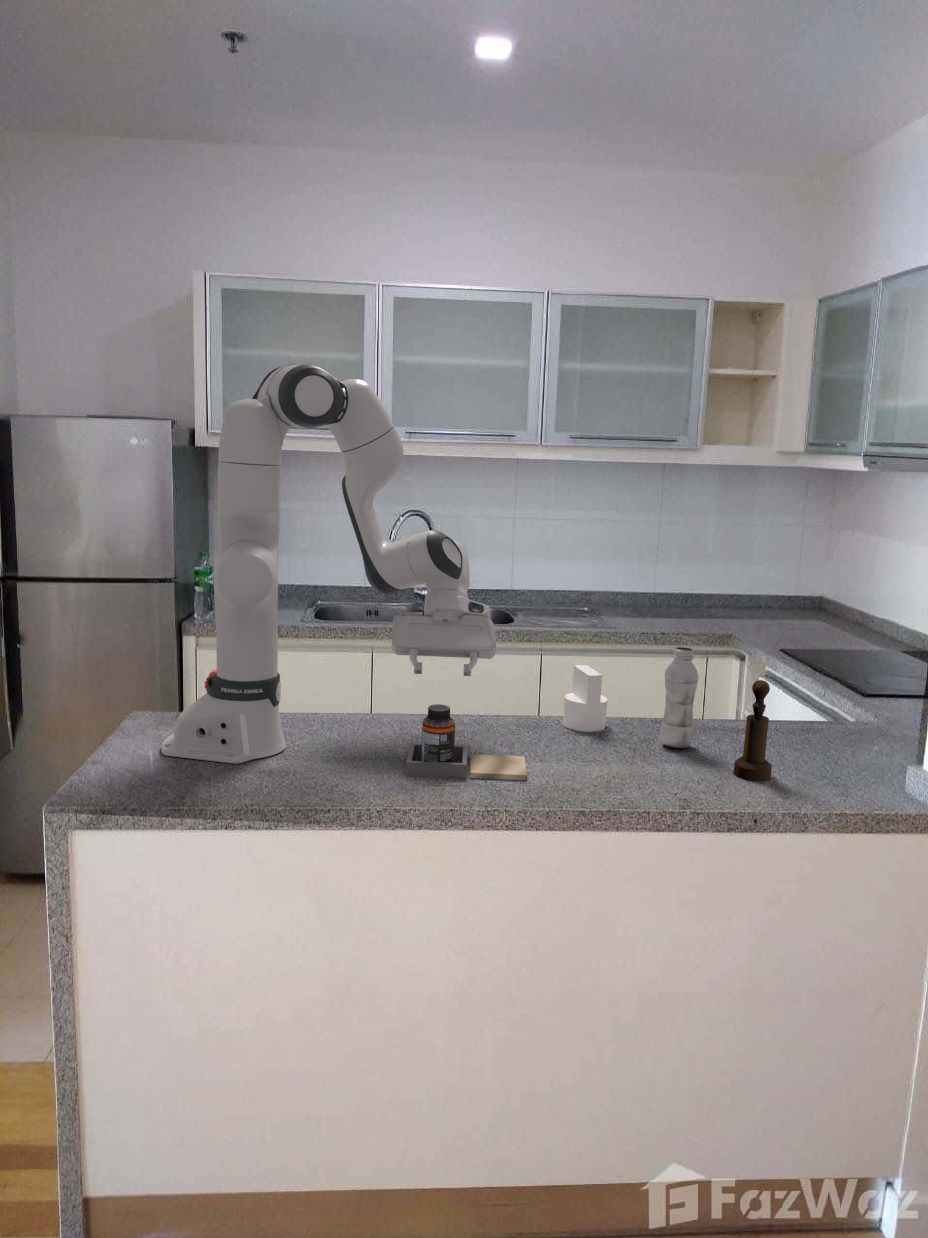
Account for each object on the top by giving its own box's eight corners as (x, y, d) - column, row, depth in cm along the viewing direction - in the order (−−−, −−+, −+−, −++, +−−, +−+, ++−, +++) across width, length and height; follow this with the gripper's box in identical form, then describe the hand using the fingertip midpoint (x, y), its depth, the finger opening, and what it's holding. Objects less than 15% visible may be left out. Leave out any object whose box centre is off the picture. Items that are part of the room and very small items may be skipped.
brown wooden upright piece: (759, 768, 180) (769, 676, 177) (777, 780, 174) (788, 685, 170) (727, 769, 179) (736, 676, 175) (744, 782, 172) (754, 685, 169)
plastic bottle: (687, 754, 187) (696, 654, 183) (654, 747, 190) (662, 649, 186) (697, 745, 192) (705, 648, 188) (664, 739, 195) (672, 643, 192)
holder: (406, 775, 168) (406, 762, 168) (410, 755, 179) (410, 743, 178) (466, 778, 168) (466, 765, 168) (466, 758, 179) (467, 745, 178)
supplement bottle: (435, 759, 178) (438, 700, 176) (460, 767, 174) (463, 707, 172) (414, 766, 173) (416, 706, 171) (439, 775, 170) (441, 713, 167)
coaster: (470, 778, 169) (470, 772, 168) (470, 759, 178) (470, 754, 178) (526, 780, 169) (527, 775, 168) (524, 761, 178) (524, 756, 178)
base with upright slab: (612, 730, 200) (616, 675, 198) (571, 732, 198) (575, 676, 195) (595, 718, 208) (599, 664, 206) (556, 719, 206) (560, 665, 204)
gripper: (393, 602, 187) (387, 662, 179) (497, 606, 187) (496, 667, 179) (394, 620, 192) (388, 679, 185) (495, 624, 192) (494, 684, 185)
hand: (442, 673), depth 182 cm, fingers open, 8 cm apart
